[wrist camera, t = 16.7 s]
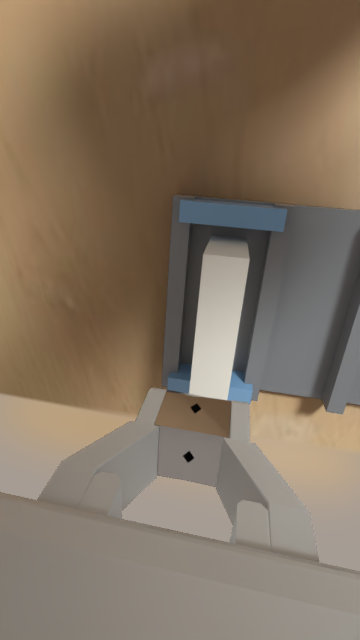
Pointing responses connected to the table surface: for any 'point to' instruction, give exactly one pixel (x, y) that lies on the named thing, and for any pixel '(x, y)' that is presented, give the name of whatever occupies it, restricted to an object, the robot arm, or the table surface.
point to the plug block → (218, 315)
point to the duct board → (273, 298)
